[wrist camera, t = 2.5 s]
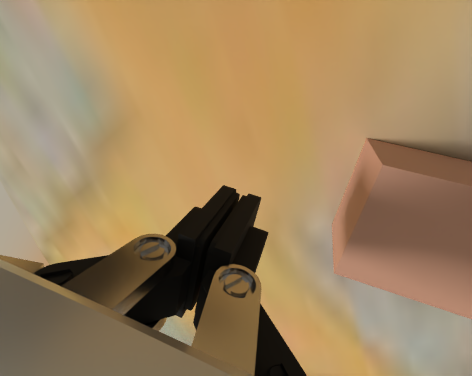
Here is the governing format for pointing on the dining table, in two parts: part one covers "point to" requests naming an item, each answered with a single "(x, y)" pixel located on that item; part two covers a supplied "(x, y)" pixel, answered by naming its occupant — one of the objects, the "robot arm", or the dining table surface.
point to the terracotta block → (408, 225)
